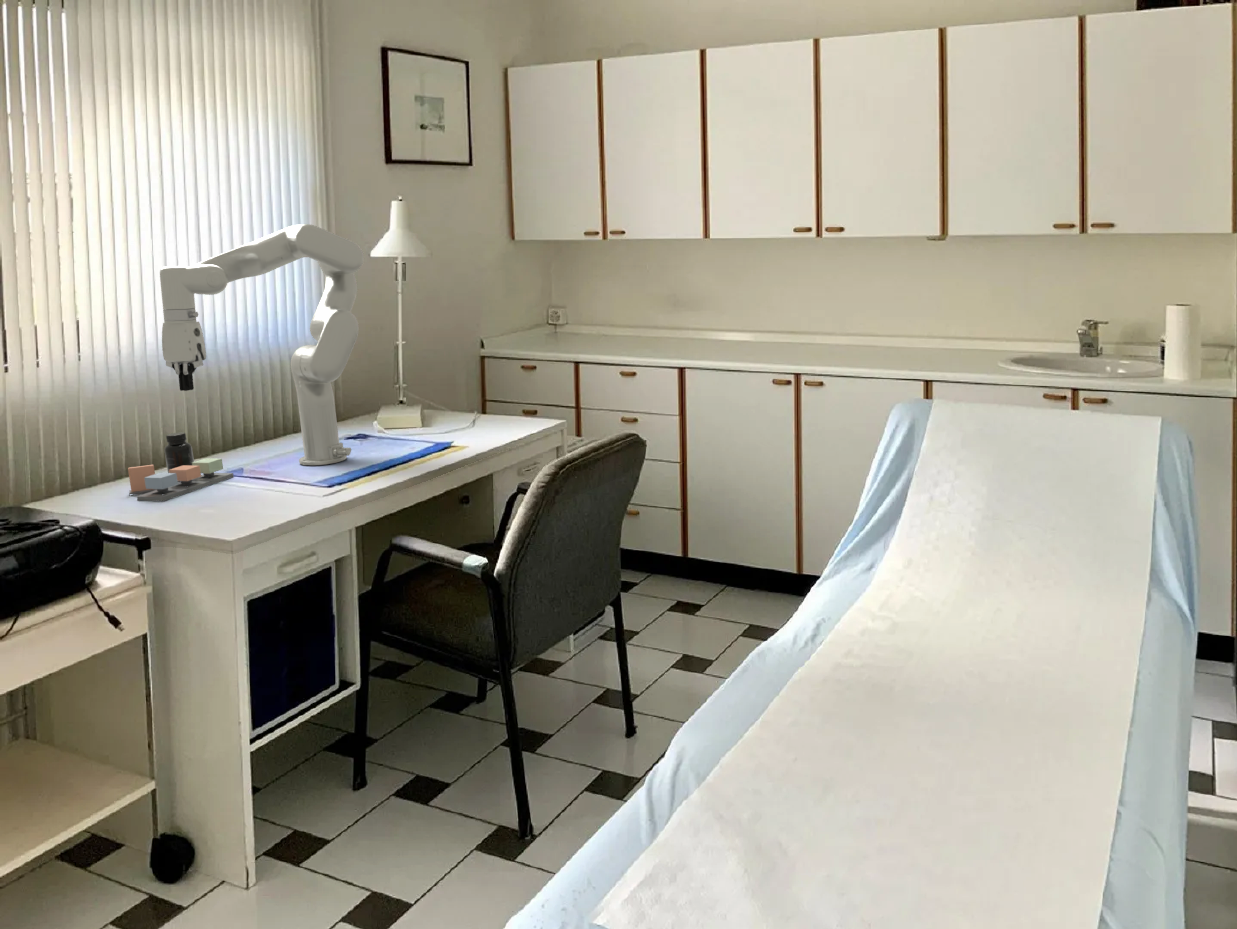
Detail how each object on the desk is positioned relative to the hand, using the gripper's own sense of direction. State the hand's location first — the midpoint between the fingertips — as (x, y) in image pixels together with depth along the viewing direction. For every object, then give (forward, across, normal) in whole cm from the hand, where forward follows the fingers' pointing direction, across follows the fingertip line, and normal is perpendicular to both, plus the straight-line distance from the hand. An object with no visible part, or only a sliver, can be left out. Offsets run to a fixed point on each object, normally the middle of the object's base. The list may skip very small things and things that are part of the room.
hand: (186, 389), depth 294 cm
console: (+24, 0, +3) cm, 25 cm away
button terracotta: (+23, 0, +3) cm, 23 cm away
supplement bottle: (+25, +10, -7) cm, 27 cm away
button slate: (+23, 0, +12) cm, 26 cm away
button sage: (+23, 0, -5) cm, 23 cm away
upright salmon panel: (+25, +9, +8) cm, 28 cm away
